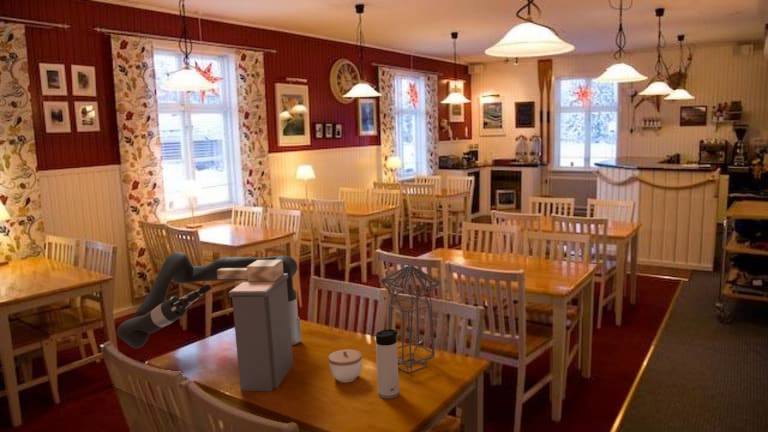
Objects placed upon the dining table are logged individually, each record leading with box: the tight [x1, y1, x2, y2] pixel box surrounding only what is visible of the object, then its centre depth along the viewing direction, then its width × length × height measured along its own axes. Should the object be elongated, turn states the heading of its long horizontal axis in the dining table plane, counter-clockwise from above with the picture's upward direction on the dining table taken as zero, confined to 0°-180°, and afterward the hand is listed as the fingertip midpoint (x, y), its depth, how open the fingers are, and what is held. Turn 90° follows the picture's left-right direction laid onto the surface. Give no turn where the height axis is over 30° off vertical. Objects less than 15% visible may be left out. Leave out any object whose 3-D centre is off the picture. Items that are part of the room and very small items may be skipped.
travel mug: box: [375, 328, 400, 400], centre depth 173 cm, size 6×7×20 cm
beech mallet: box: [217, 260, 284, 281], centre depth 193 cm, size 21×9×5 cm, turn 81°
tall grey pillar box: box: [228, 273, 294, 392], centre depth 190 cm, size 12×22×32 cm, turn 172°
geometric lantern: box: [378, 264, 441, 374], centre depth 191 cm, size 16×16×35 cm
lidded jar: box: [328, 349, 363, 383], centre depth 187 cm, size 11×11×9 cm
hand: (204, 289), depth 197 cm, fingers open, 8 cm apart
